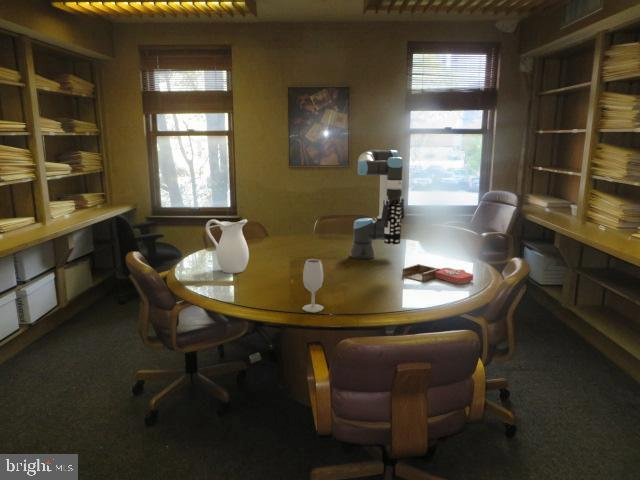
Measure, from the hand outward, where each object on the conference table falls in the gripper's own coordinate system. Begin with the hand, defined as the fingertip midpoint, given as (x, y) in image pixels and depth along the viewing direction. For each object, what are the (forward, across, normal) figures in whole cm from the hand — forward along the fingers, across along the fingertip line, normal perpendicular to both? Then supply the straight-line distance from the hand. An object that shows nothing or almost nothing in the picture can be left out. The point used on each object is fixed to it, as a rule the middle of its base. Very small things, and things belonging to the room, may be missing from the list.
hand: (392, 232), depth 244 cm
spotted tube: (+6, 0, 0) cm, 6 cm away
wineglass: (+24, -64, -11) cm, 69 cm away
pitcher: (+24, -58, +66) cm, 91 cm away
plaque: (+23, +20, -25) cm, 40 cm away
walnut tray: (+23, +11, -11) cm, 28 cm away
